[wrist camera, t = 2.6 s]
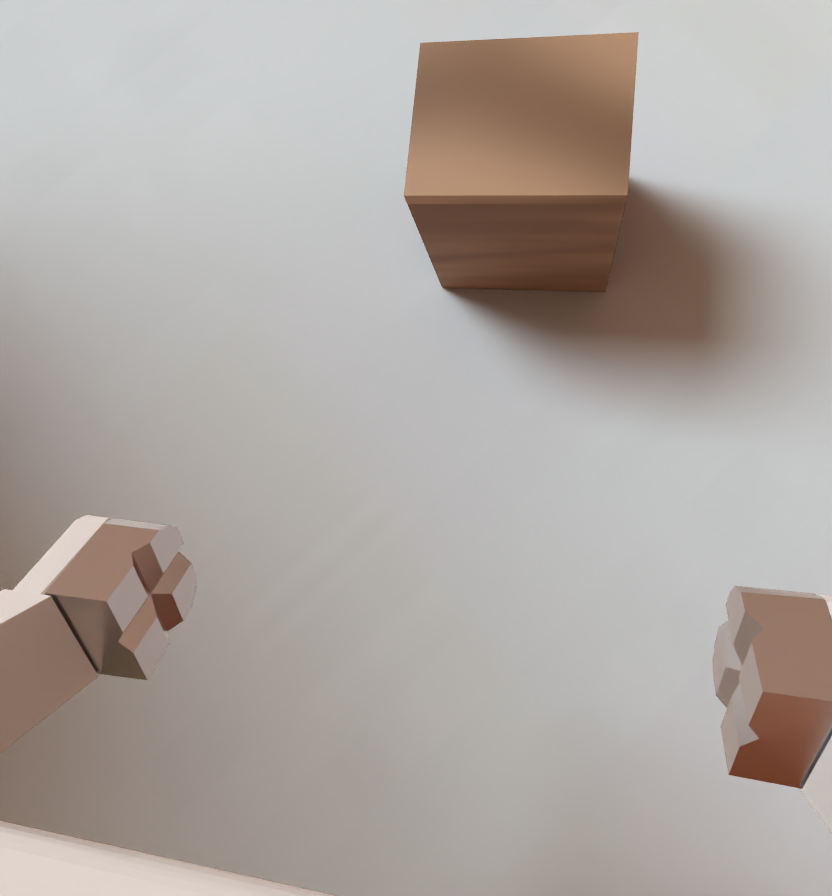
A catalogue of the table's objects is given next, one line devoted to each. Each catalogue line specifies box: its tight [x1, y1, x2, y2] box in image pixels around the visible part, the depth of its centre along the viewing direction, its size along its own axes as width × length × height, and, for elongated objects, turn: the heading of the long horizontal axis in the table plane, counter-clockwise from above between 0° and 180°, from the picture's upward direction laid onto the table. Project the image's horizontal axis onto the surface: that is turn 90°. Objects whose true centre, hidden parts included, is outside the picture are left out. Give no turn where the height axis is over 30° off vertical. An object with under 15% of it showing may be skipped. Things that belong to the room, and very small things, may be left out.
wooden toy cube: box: [404, 32, 638, 292], centre depth 23 cm, size 5×6×7 cm
